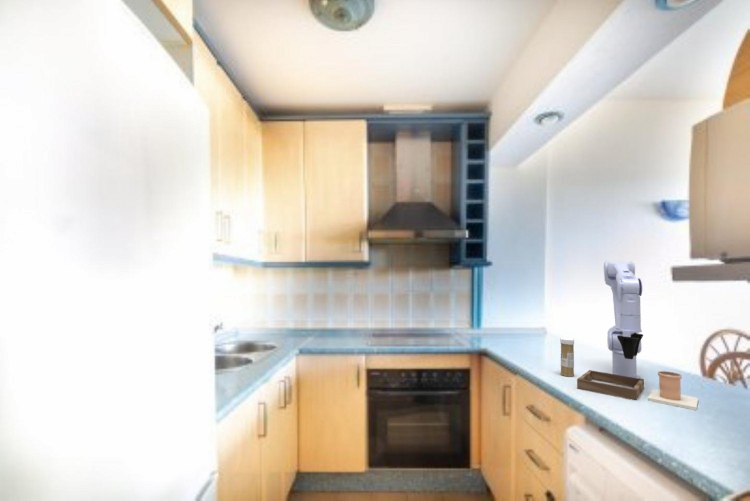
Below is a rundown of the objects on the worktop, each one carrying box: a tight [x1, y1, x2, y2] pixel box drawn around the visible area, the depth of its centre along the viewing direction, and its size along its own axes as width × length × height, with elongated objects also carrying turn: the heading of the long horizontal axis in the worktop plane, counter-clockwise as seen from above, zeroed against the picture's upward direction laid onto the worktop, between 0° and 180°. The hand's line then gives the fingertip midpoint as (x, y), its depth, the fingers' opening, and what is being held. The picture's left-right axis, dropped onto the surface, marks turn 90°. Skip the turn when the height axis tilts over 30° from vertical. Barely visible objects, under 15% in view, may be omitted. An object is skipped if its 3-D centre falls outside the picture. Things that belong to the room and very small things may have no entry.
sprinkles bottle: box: [559, 337, 575, 377], centre depth 139 cm, size 5×5×14 cm
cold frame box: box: [576, 369, 645, 401], centre depth 123 cm, size 16×16×3 cm
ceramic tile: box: [647, 389, 699, 411], centre depth 112 cm, size 11×11×1 cm
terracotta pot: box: [657, 370, 683, 400], centre depth 113 cm, size 6×6×7 cm
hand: (630, 357), depth 123 cm, fingers open, 7 cm apart
